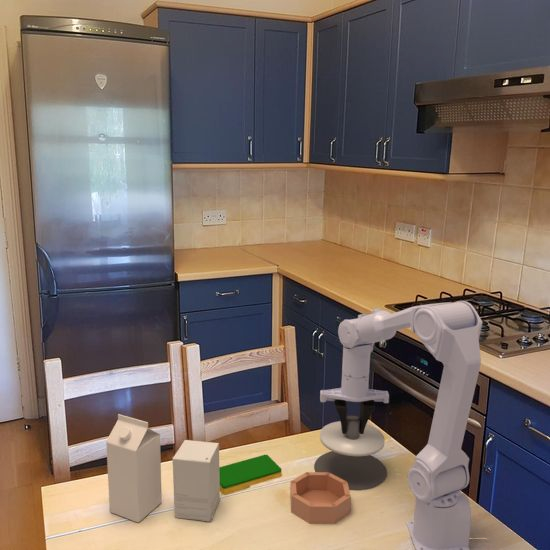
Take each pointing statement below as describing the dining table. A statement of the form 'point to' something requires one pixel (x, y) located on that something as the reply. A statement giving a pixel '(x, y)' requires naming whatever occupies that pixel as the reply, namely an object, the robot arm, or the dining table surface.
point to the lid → (352, 438)
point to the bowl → (320, 498)
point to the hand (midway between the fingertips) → (352, 431)
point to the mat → (353, 469)
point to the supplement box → (196, 480)
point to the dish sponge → (247, 473)
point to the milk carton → (133, 468)
